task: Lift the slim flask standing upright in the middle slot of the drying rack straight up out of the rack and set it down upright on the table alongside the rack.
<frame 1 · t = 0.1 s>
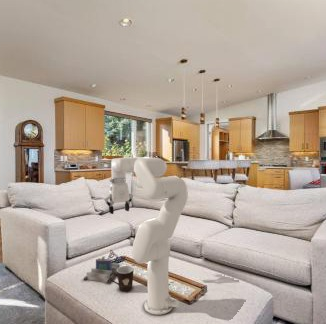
hand: (119, 212, 139), 37 cm above the table, tool pointing down, fingers open, 9 cm apart
flask: (103, 275, 146), resting in drying rack
drying rack: (103, 274, 146), on the table
coffee mug: (122, 288, 131), on the table
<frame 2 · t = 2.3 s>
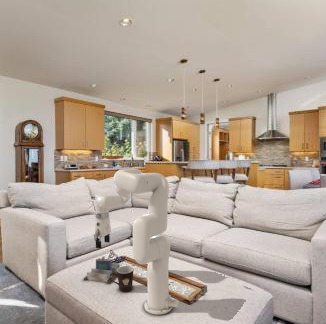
hand: (102, 245, 146), 17 cm above the table, tool pointing down, fingers open, 9 cm apart
nothing on the table moved.
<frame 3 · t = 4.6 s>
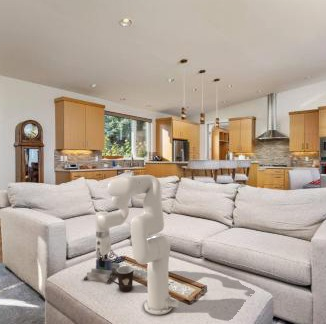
hand: (103, 265, 146), 6 cm above the table, tool pointing down, fingers closed on flask, 3 cm apart
flask: (103, 275, 146), resting in drying rack, touching gripper
everything else where it was.
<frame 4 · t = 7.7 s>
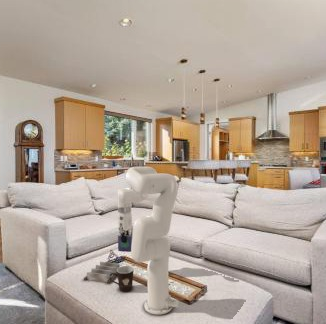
hand: (125, 241, 147), 19 cm above the table, tool pointing down, fingers closed on flask, 3 cm apart
flask: (125, 251, 147), point 13 cm above the table, touching gripper
everything else where it was.
when the fingers open (6 cm above the table, at t = 11.3 s): flask stays where it is, on the table.
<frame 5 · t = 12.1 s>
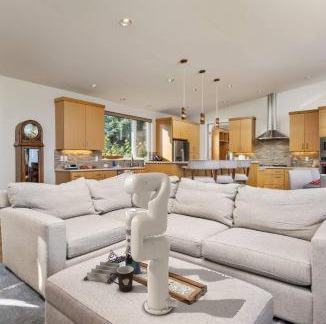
hand: (132, 260, 148), 7 cm above the table, tool pointing down, fingers open, 9 cm apart
flask: (132, 273, 148), on the table
everything else where it was.
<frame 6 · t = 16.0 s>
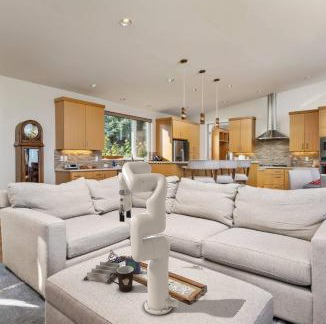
hand: (125, 219, 159), 28 cm above the table, tool pointing down, fingers open, 9 cm apart
nothing on the table moved.
at the end: flask inside the target area (0.1 cm from its centre), on the table; flask tilted 0°; the gripper is holding nothing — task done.
